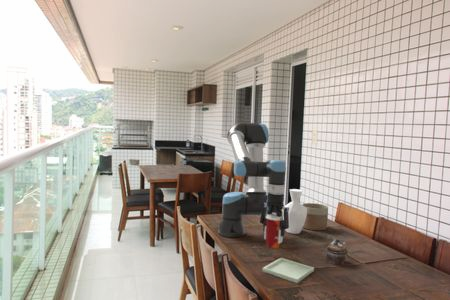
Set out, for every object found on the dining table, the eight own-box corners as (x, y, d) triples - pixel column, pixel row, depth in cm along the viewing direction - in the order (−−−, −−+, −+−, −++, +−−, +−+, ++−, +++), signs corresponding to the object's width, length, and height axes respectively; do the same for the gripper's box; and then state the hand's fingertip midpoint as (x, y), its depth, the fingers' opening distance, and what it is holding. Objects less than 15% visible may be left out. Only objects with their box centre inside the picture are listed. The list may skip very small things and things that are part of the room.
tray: (262, 271, 143) (262, 267, 143) (280, 261, 156) (280, 257, 155) (297, 283, 133) (297, 279, 133) (313, 271, 146) (314, 267, 146)
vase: (291, 236, 193) (294, 192, 192) (276, 229, 206) (279, 188, 205) (310, 233, 200) (313, 191, 199) (295, 227, 213) (297, 187, 211)
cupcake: (327, 256, 165) (328, 235, 164) (348, 260, 160) (349, 239, 160) (323, 262, 156) (324, 241, 156) (345, 267, 152) (346, 245, 151)
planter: (329, 227, 217) (331, 205, 216) (322, 232, 203) (324, 210, 202) (305, 222, 225) (307, 202, 224) (297, 227, 212) (298, 206, 211)
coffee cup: (281, 249, 157) (283, 218, 156) (263, 247, 159) (265, 216, 157) (281, 243, 165) (283, 213, 164) (264, 241, 167) (266, 211, 166)
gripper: (253, 190, 163) (251, 237, 165) (291, 197, 151) (288, 248, 153) (262, 188, 169) (259, 233, 171) (298, 195, 157) (295, 243, 159)
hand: (273, 240), depth 162 cm, fingers closed on coffee cup, 7 cm apart
